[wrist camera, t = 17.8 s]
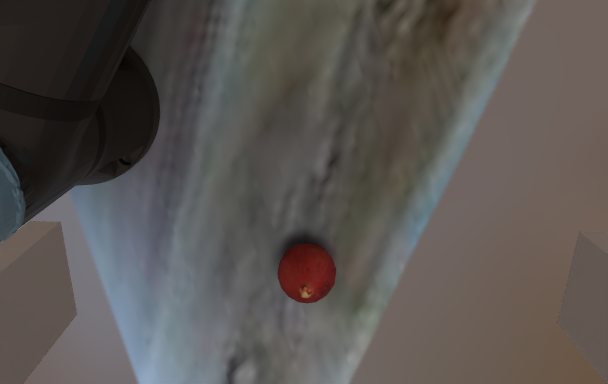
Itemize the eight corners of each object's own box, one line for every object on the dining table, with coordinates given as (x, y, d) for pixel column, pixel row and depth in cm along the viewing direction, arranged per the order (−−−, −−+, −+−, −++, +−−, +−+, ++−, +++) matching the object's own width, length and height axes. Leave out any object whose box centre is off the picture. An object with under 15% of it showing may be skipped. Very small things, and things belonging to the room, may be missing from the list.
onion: (343, 246, 51) (350, 286, 43) (316, 286, 52) (318, 332, 45) (296, 221, 50) (294, 258, 42) (270, 263, 51) (264, 305, 44)
